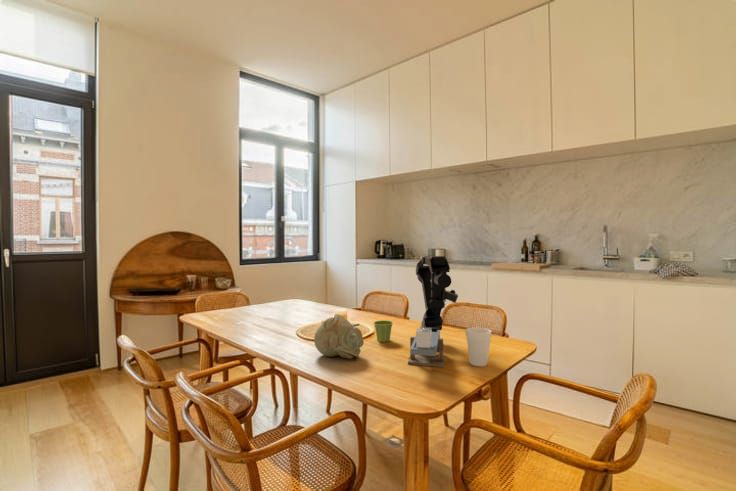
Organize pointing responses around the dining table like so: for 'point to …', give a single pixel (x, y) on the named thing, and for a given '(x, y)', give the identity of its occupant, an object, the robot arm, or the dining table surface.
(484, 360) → the foam cup
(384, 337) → the plant pot
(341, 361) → the dining table surface
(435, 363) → the seesaw stand
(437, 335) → the beam
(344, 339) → the sculpture
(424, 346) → the white block
